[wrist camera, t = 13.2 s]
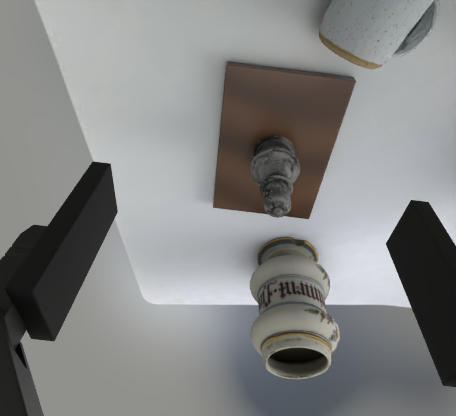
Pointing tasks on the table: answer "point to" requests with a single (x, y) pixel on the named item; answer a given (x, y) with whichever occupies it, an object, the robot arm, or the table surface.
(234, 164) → the walnut board
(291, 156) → the grey tapered rounded piece
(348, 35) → the ceramic mug
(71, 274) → the robot arm
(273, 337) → the apothecary jar
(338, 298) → the table surface
